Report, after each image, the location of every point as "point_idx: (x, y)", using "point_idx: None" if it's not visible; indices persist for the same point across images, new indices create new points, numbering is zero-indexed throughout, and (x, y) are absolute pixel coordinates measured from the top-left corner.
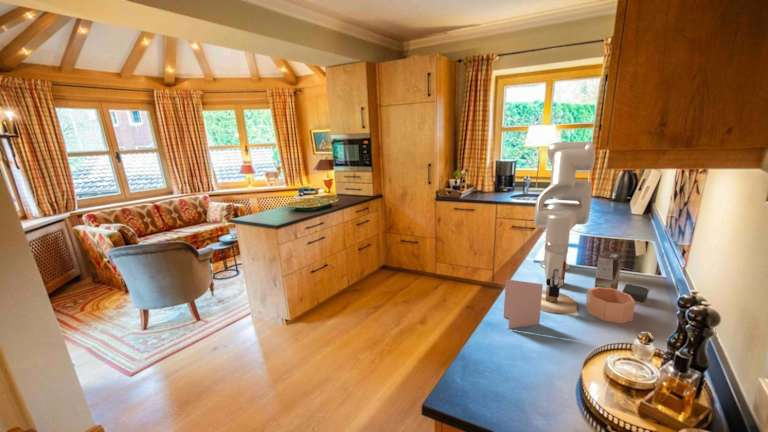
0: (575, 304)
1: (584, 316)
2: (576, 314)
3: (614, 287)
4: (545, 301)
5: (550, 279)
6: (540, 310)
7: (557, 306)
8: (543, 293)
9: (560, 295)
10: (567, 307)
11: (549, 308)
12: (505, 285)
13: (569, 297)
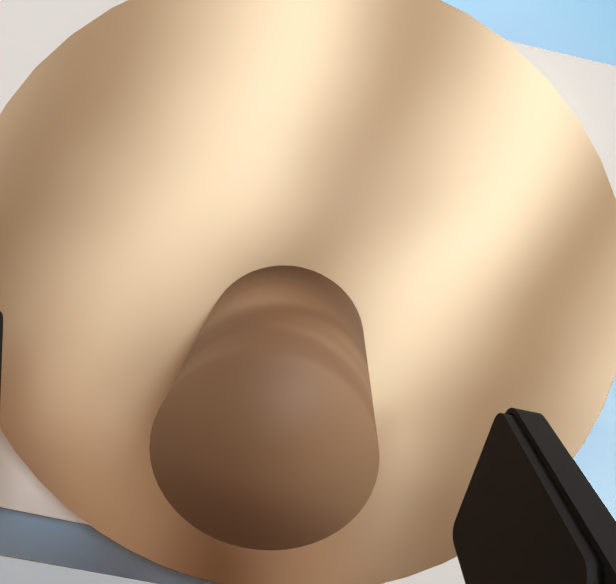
0: (209, 567)
1: (36, 548)
2: (17, 495)
3: None
4: (241, 248)
5: (531, 565)
6: (2, 101)
7: (111, 359)
8: (512, 300)
9: (447, 496)
10: (111, 463)
11: (23, 237)
12: None
13: (391, 571)
